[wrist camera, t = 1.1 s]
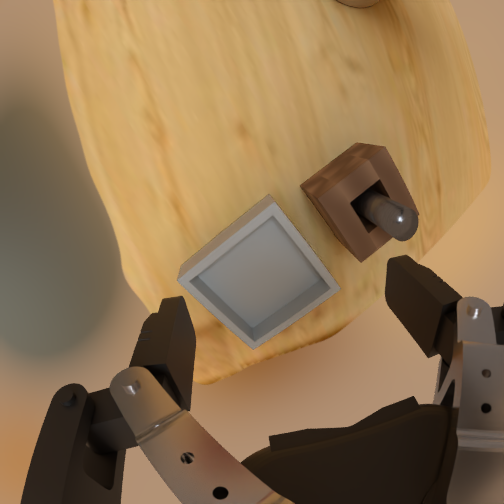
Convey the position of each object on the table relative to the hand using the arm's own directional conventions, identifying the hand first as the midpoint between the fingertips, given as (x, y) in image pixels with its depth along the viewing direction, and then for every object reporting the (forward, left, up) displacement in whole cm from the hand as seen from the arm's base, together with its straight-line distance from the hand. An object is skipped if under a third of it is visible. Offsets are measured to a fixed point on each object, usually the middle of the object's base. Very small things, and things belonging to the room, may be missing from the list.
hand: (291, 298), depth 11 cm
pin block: (-9, +9, -24) cm, 27 cm away
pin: (-9, +9, -23) cm, 27 cm away
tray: (+6, +10, -24) cm, 27 cm away
